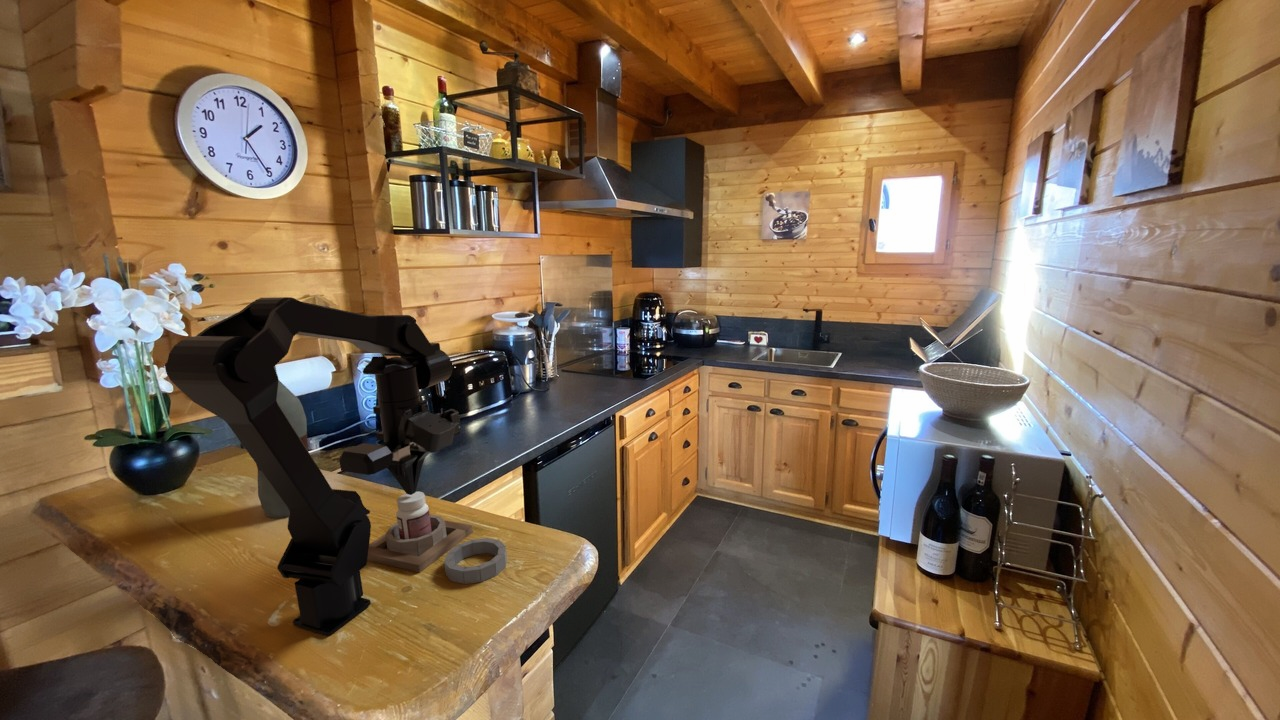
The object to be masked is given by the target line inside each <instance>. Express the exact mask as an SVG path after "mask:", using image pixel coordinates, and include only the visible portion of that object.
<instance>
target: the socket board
mask: <svg viewBox="0 0 1280 720" xmlns="http://www.w3.org/2000/svg"><path fill="white" fill-rule="evenodd" d="M429 514H430V522H431V530H432V532H431V533H430V534H427V535H424V536H422V537H419V538H414V539H405V540H403V539H400V536H399V529H398V522H397V521H396V523H394V524H392V525H390V526H389V528H388V529H387V531H386V533H385V534H383V535H382V536H380V537H378V538H377V539H375V540H374V541H372V542H369V549H368V557H367V562H372V563H376V564H377V563H378V564H381V565H386V566H390V567H395V568H398V569H403V570H408V571H411V572H415V573H421V572H423V571H425V570H426V568H428V567H429V566H430V565H432V564H433V563H434V562H436V561H437V560H439V558H441V557H443V556H444V555H445V554H447V553H448V552H449V551H450V550H452V549H453V548H454V547H456V546H457V545H459V544H460V542H462V541H463V540H465V539H466V538H467V537H469V536H470V535H471V534H472V533H473V530H474V529H473V525H471V524H466V523H461V522H455V521H450V520H444V519H443V517H442V516H440V515H436V514H431V513H429Z"/></svg>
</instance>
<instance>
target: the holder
mask: <svg viewBox="0 0 1280 720" xmlns="http://www.w3.org/2000/svg"><path fill="white" fill-rule="evenodd" d="M481 554H482V555H483V554H488V555H492V556H493V555H494V557H493V558H491V560H489V561H486V562H483V563H482V564H478V565H471V566H463V565H458V564H459V563H460V562H461V561H463V559H466V558H469V557H472V556H474V555H481ZM507 560H508V557H507V547H506V545H505V544H504V543H503V542H502V541H501V540H499V539H494V538H489V537H483V538H476V539H469V540H467V541H465V542H462V543H458V544H457V545H455V546H454V547H453V548H451V549H450V550H449V551H447V552H446V555H445V559H444V561H443V564H444V572H445V575H446V576H447V578H448V579H449V580H450V581H451V582H454V583H458V584H462V585H467V584H468V585H469V584H475V583H483V582H484V581H487V580H490V579H492V578H495V577H496V576H497V575H499V574H500V573H501V571H503V570H504V569H505V568H506V567H507Z"/></svg>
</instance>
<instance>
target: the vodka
mask: <svg viewBox="0 0 1280 720" xmlns="http://www.w3.org/2000/svg"><path fill="white" fill-rule="evenodd" d="M274 368H275V370H276V373H277V367H276V365H275V366H274ZM277 374H278V373H277ZM276 400H277V402H278V405H279V406H280V408H281V409H282V411H283V412H284V414H285V416H286V417H287V419H288V420H289V422H290V423H291V425H292V427H293V428H294V430H295V431H296V433H297V435H298V436H299V438H300V439H301V441H302V442H303V444H304V446H305V447H306V449H307V450H308V451H309V444H308V429H307V424H308V423H307V416H306V413H305V410H304V409H305V408H304V407H303V404H302V402H301V401H300V399H299V398H298V397H297V396H296V395H295V394H294V393H293V392H292V391H291V390H290V389H289V388H288V387H287V386H285V384H283V382H282V381H280V380H279V381H278V390H277V398H276ZM255 464H256V463H255ZM256 468H257V495H258V499H259V501H260V504H261V508H262V510H263V511H264V513H265V515H266V516H267V517H268V518H272V519H282V518H289V512H290V511H289V509H288V507H287V506H286V504H285V503H284V502H283V500H282V499H281V497H280V496H279V495H278V493H277V492H276V490H275V489H274V488H273V486H272V485H271V483H270V482H269V481H268V479H267V478H266V476H265V475H264V474H263V472H262V471H261V470H260V468H259V467H258V465H257V464H256Z"/></svg>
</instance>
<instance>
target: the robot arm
mask: <svg viewBox="0 0 1280 720" xmlns="http://www.w3.org/2000/svg"><path fill="white" fill-rule="evenodd" d="M296 335H297V336H304V337H311V338H312V337H313V338H318V339H324V340H331V341H332V340H335V341H342V342H347V343H349V344H352V345H353V346H355V348H357V349H360V350H363V351H364V352H368V353H371V354H380V355H382V356H372V357H371V359H370V361H369V362H368V363H367V364H366V365H365V367H364V368H363V369H362V373H363V374H364V375H374V378H375V384H376V392H377V393H376V394H377V400H378V401H377V402H378V405H375V406H373V407H372V410H373V415H374V414H376V415H379V417H380V422H381V424H380V425H381V431H379V432H376V440H378V441H383V443H382V444H374V443H366V442H362V443H360V444H358V445H356V446H355V445H354V446H353V447H350V448H348V449H345V450H343V451H342V453H341V454H340V455H339V468H340V471H341V472H347V473H352V474H359V475H366V476H370V475H375V474H377V473H379V472H381V471H383V470H386V469H387V470H388V471H389V472H390V474H392V476H393V477H394V479H395V480H396V481H397V483H398V484H399V485H400V486H401V488H402V490H403V491H404V492H405V494H406V493H407V494H409V495H412V494H414V493H415V492H417V488H418V484H419V482H420V477H421V471H422V468H423V464H424V461H425V459H426V457H427V456H428V455H429V454H430V453H437V452H439V451H441V449H443V448H445V447H448V446H449V447H450V446H451V445H453V441H454V436H456V435H458V434H460V432H461V430H462V429H461V417H460V413H459V411H458V410H456V409H454V408H450V409H447V410H445V411H443V412H442V413H440V412H437V413H431V412H430V408H429V403H427V400H421V396H420V390H425V389H427V388H429V387H433V386H434V385H435V386H436V385H437V384H438V385H439V383H443V382H445V381H447V380H448V379H449V378H450V377H451V376H452V374H453V371H454V370H453V369H454V366H453V365H454V364H453V362H452V359H451V358H450V357H449V355H448V354H447V352H445V351H443V350H442V349H441V346H440V345H441V344H440V342H430V340H429V339H428V337H427V336H426V334H425V333H424V332H423V330H422V329H421V327H420V325H418V323H417V320H416V318H415V317H414V316H413V315H412V316H411V315H409V314H380V315H379V314H378V315H377V314H371V315H370V314H369V315H368V314H362V313H357V312H352V311H349V310H348V311H347V310H342V309H338V308H333V307H329V306H324V305H320V304H314V303H308V302H304V301H300V300H299V299H296V298H294V297H291V296H290V297H289V296H288V297H287V296H285V297H279V296H278V297H276V296H275V297H259V298H257V299H255V300H254V301H252V302H250V303H249V304H247V305H246V306H245V307H244V308H242V309H241V310H240V311H238V312H236V313H234V314H232V315H230V316H228V317H226V318H224V319H222V320H220V321H217V322H216V323H214V324H211V325H209V326H208V327H206V328H205V329H202V331H201V332H199V333H198V334H197V335H195V336H189V337H186V338H183V339H181V340H180V341H178V342H177V343H176V344H174V346H173V347H172V348H171V350H170V352H169V353H168V358H167V360H166V362H165V364H164V369H165V373H166V375H167V377H168V378H169V380H170V381H171V382H172V384H173V385H174V386H176V387H177V388H178V389H179V390H180V391H181V393H183V394H184V395H185V396H187V398H188V399H190V400H191V401H192V402H193V403H195V404H197V406H200V407H202V408H204V409H205V410H207V411H208V412H210V413H211V414H213V415H215V416H216V417H218V418H220V419H222V420H223V421H224V422H225V423H226V424H227V426H229V428H230V430H232V432H233V434H234V435H235V437H236V438H237V439H238V440H239V442H240V443H241V445H242V446H243V448H245V450H246V451H247V453H248V455H249V456H250V457H251V458H252V460H253V461H254V463H255V464H257V465H258V467H259V468H260V470H261V471H262V472H263V474H264V475H265V476H266V478H267V479H268V481H269V482H270V483H271V485H272V486H273V488H274V489H275V490H276V492H277V493H278V495H279V496H280V497H281V499H282V500H283V502H284V503H285V504H286V506H287V507H288V509H289V511H290V512H289V517H288V521H287V529H288V532H289V535H290V536H291V537H290V538H291V539H290V540H289V543H288V544H287V547H286V549H285V551H284V552H283V554H282V556H281V558H280V560H279V562H278V564H277V570H278V572H279V573H280V575H281V576H282V577H283V578H284V579H294V580H295V579H296V580H297V581H295V582H294V583H293V584H294V589H295V594H296V599H297V606H298V610H299V611H298V612H299V615H298V616H297V617H296V618H294V619H293V620H292V625H293V626H295V627H299V628H301V629H306V630H307V631H311V632H315V633H318V634H321V635H324V636H330V635H332V634H333V633H335V632H336V631H338V630H339V629H340V628H342V627H343V626H344V625H345V624H347V623H348V622H349V621H351V620H352V619H354V618H355V617H356V616H357V615H359V614H360V613H361V612H362V611H364V610H365V609H366V608H369V606H370V605H372V603H371V599H369V598H365V597H363V596H364V590H363V584H362V578H361V577H362V576H361V570H362V569H363V568H365V567H366V566H367V563H368V560H367V557H368V549H369V544H370V539H371V532H372V531H371V530H372V524H371V523H372V522H371V521H370V518H369V516H368V515H369V514H370V513H371V510H370V509H367V508H366V506H365V505H364V504H363V500H362V498H361V495H360V494H359V493H358V492H357V491H356V490H346V489H337V488H336V489H335V488H332V486H331V484H330V483H329V482H328V480H327V479H326V477H325V475H324V474H323V472H322V471H321V469H320V467H319V466H318V465H317V463H316V462H315V460H314V458H313V457H312V455H311V453H310V452H309V449H308V450H307V449H306V447H305V446H304V444H303V442H302V441H301V439H300V438H299V436H298V435H297V433H296V431H295V430H294V428H293V427H292V425H291V423H290V422H289V420H288V419H287V417H286V416H285V414H284V412H283V411H282V409H281V408H280V406H279V405H278V402H277V400H276V398H277V390H278V381H280V379H279V377H278V376H279V375H278V373H276V372H277V369H276V370H275V368H274V366H275V367H276V366H277V364H279V363H280V362H281V361H282V360H283V359H284V358H285V357H286V356H287V355H288V353H289V351H290V348H291V346H292V343H293V340H294V338H295V336H296ZM387 357H389V358H387ZM257 465H256V466H257Z"/></svg>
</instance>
